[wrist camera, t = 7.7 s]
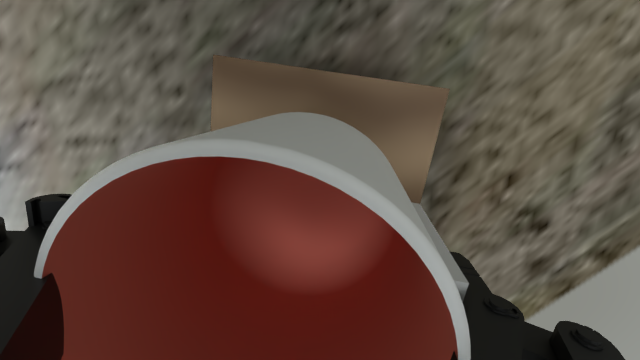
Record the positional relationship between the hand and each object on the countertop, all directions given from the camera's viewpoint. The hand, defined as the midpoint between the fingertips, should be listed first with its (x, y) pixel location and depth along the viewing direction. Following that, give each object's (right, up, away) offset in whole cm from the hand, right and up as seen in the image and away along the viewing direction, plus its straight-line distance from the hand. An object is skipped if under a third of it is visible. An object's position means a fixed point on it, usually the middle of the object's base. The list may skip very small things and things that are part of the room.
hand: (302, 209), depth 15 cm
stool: (+1, +3, +12) cm, 12 cm away
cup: (0, 0, +1) cm, 1 cm away
